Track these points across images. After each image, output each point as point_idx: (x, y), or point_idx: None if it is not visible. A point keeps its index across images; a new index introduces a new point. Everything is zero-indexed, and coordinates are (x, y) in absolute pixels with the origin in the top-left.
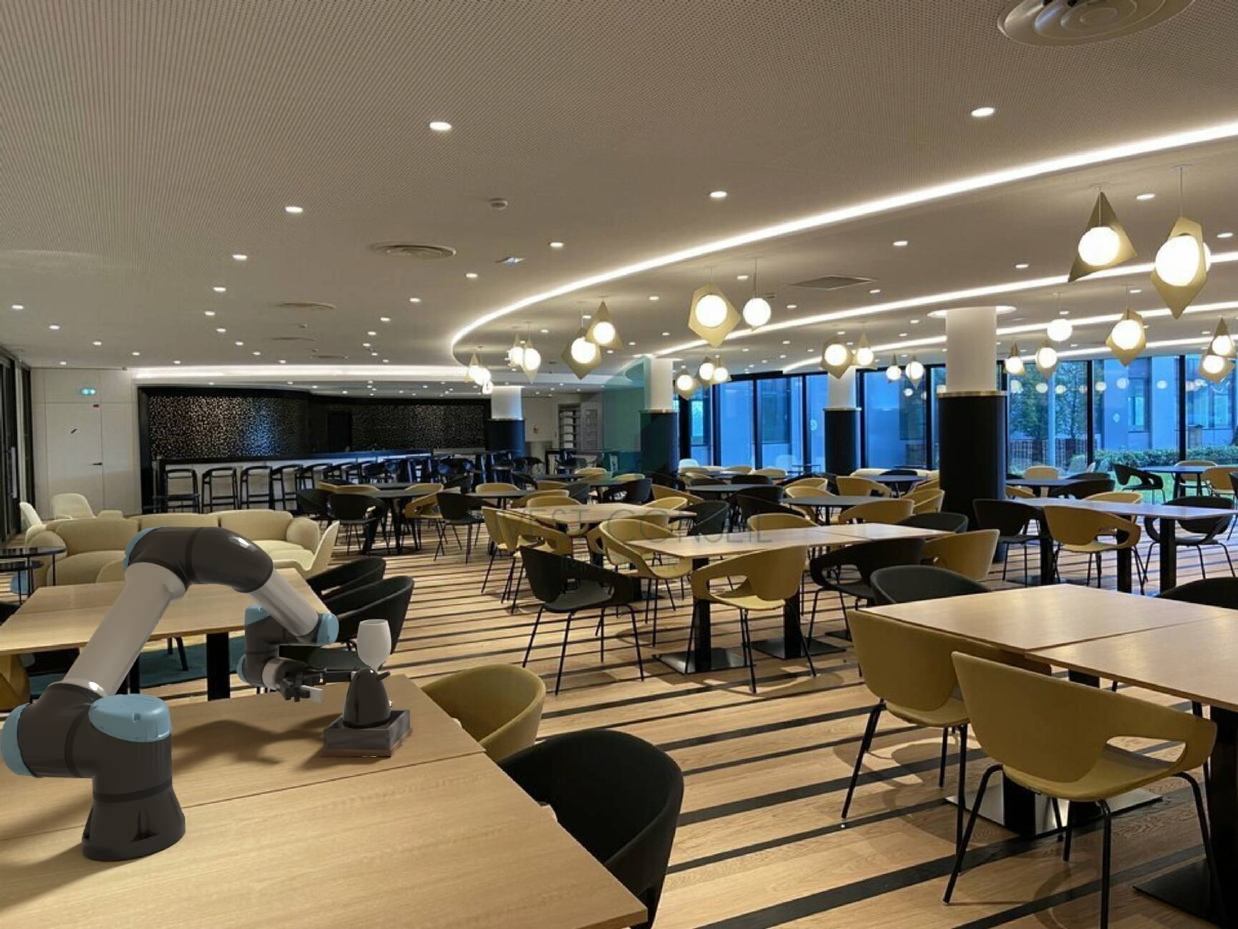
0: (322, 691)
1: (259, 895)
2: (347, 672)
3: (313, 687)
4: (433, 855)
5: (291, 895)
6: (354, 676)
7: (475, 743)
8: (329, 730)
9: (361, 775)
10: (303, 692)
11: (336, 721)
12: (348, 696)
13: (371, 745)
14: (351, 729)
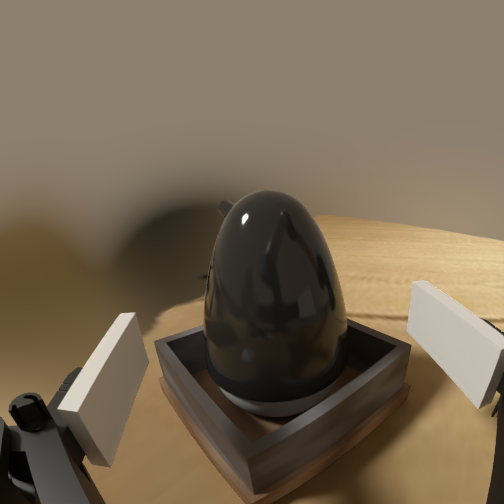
0: (413, 288)
1: (467, 240)
2: (65, 450)
3: (449, 309)
4: (369, 236)
5: (450, 237)
6: (308, 211)
7: (168, 313)
8: (396, 340)
9: (366, 313)
10: (489, 324)
11: (357, 378)
12: (336, 272)
13: None
14: (349, 321)
